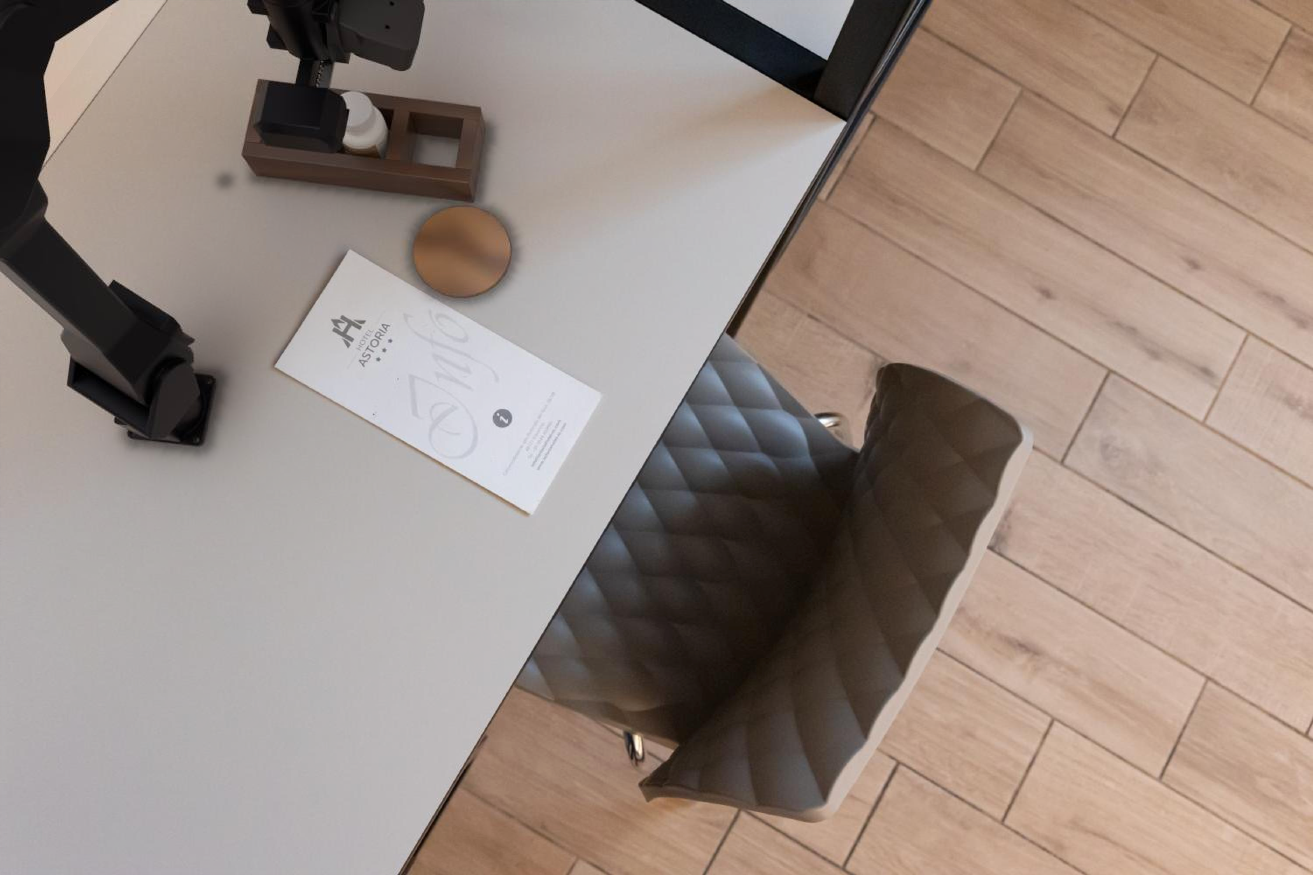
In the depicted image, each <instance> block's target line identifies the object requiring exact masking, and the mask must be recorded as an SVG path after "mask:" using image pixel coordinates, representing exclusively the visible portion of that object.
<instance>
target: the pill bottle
mask: <svg viewBox="0 0 1313 875" xmlns="http://www.w3.org/2000/svg"><path fill="white" fill-rule="evenodd" d="M356 91H357V90H351V91H350V92H346V93H343V94H342V95H341V96H343V98H344V100H345V102H346V105H347V109H350V111H349V116H348V122H347V127H346V132H345V136H344V138H343V143H342V145H343V147H344V149H345V154H349V155H357V156H365V157H373V158H381V159H385V158H386V152H387V147H388V142H389V136H390V130H388V128H387V125H386V123H385V120H384V118H383V116H382V114H381V113H380V111H379V110H378V109H377V108H376V107H374V106H373V105H372V103H371V101H370V99H369V98H368V97H367V96H366V95H364V94H363V93H360V92H361V91H359V92H356Z"/></svg>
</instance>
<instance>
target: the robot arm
mask: <svg viewBox="0 0 1313 875" xmlns="http://www.w3.org/2000/svg"><path fill="white" fill-rule="evenodd" d="M119 1H120V0H0V273H1V274H3V275H4V276H5V277H6V278H7V279H8V280H9V281H10V282H11V283H13V284H14V285H15V286H16V287H17V288H18V289H20V290H21V291H22V292H23V293H24V294H25V295H26V296H27V297H29V298H30V299H31V300H32V301H33V302H34V303H35V304H36V305H37V306H38V307H40V308H41V309H42V310H43V311H44V312H45V313H47V315H49V316H50V318H52V319H53V320H54V321H55V322H57V323H58V324H59V325H60V326H61V327H62V331H61V334H60V336H59V337H60V341H61V343H62V344H63V345H64V347H65V349H66V350H67V351H68V353H69V363H68V372H67V378H66V379H67V380H66V386H67V387H68V388H69V389H71V390H73V391H74V392H75V393H78V394H79V395H80V396H82V397H84V398H85V399H87V400H88V401H90V402H91V403H93V404H94V405H96V406H98V407H99V408H101V409H102V410H104V411H105V412H107V413H108V414H110V415H111V416H113V417H114V419H113V423H114V424H116V425H117V426H119V427H122V428H124V429H126V430H127V432H126V435H127V437H128V438H129V439H131V440H135V441H142V442H143V441H144V442H153V443H160V444H169V445H178V446H187V447H195V448H199V447H201V446H203V445H204V443H205V437H206V434H207V433H206V432H207V428H208V424H209V421H210V420H209V419H210V414H211V410H212V407H213V406H212V404H213V400H214V395H215V391H216V387H217V378H216V377H215V376H213V375H211V374H205V373H195V368H194V367H193V365H192V364H194V363H195V353H194V350H193V349H192V348H191V347H190V346H191V345H192V344H194V343H195V342H196V339H195V338H194V337H192V336H191V335H189V334H187V333H186V332H184V331H183V329H182V326H181V325H180V323H179V322H178V320H176V318H175V317H174V316H172V315H170V313H168V312H166V311H164V310H162V308H159V307H158V306H156V305H154V304H153V303H152V302H150V301H149V300H147V299H145V298H144V297H142V296H141V295H139V294H138V293H137V292H134V291H133V290H132V289H129V288H128V287H126V286H125V285H123V284H121V283H120V282H118V281H117V280H115V279H112V281H111V282H110V283H109V285H108V284H106V282H105V281H104V279H102V278H101V277H100V276H99V275H98V273H96V271H95V270H94V269H93V268H92V267H91V266H90V265H89V264H88V263H87V262H86V261H85V259H83V258H82V257H81V255H79V253H78V251H76V250H75V249H74V248H73V247H72V246H71V245H70V244H69V243H68V242H67V241H66V240H65V238H64V237H63V236H62V235H61V234H60V233H59V231H57V230H56V229H55V227H54V226H53V225H52V224H51V223H50V222H49V221H48V220H47V218H46V216H45V215H46V213H47V209H48V206H49V197H48V195H47V193H46V191H45V189H44V188H43V186H42V183H41V181H40V179H39V178H40V176H41V173H42V169H43V166H44V164H45V161H46V158H47V155H48V153H49V151H50V147H51V139H52V138H51V132H50V130H51V129H50V122H49V121H50V120H49V112H48V104H47V96H46V95H47V94H46V87H45V86H46V85H45V75H46V72H47V69H48V66H49V63H50V61H51V58H52V55H53V51H54V50H55V47H56V42H58V41H60V40H61V39H63V38H65V37H66V36H67V35H69V34H71V33H72V32H74V31H75V30H76V29H78V28H79V27H81V26H83V25H84V24H86V23H87V22H89V21H91V19H93V18H95V17H97V15H99V14H101V13H102V12H104V11H105V10H107V9H108V8H110V7H112V6H113V5H114V4H116V3H118V2H119ZM424 1H425V0H247V3H246V6H247V7H248V10H249V11H250V13H251V14H252V15H260V16H266V18H267V20H268V21H269V25H268V29H267V34H266V38H265V41H266V43H267V45H268V47H269V49H271V50H281V51H288V54H290V55H291V56H293V57H295V58H297V59H299V63H298V68H297V72H296V76H295V81H294V83H295V84H290V83H291V82H288V83H282V82H283V81H280V82H274V81H275V80H272V81H268V82H267V83H265V84H264V85H262V86H261V88H260V93H259V97H258V102H257V106H256V111H255V115H254V120H253V124H252V126H253V128H254V129H255V131H256V133H257V134H258V136H259V137H260V139H261V140H262V141H263V142H264V144H265V145H266V146H271V147H279V148H287V149H295V150H303V151H311V152H319V153H327V154H334V153H335V152H337V151H338V150H340V149H341V148H342V143H343V138H344V136H345V132H346V127H347V122H348V116H349V111H350V109H347V105H346V102H345V100H344V98H343V96H341V95H339V94H337V93H335V92H334V91H332V90H330V88H331V85H332V81H333V80H332V79H333V76H334V71H335V65H336V63H337V64H346V65H349V64H350V59H351V54H353V55H354V56H356V57H358V58H360V59H364V60H367V61H370V62H372V63H376V64H379V65H383V66H385V67H389V68H390V69H391V70H393V71H397V72H407V71H408V70H410V69H411V68H412V65H413V62H414V59H415V56H416V53H417V50H418V47H419V44H420V39H421V34H422V28H423V23H424V17H425V11H426V5H425V3H424ZM210 380H211V382H209V381H210ZM133 433H134V435H133ZM197 440H198V442H196V441H197Z"/></svg>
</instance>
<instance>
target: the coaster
mask: <svg viewBox="0 0 1313 875" xmlns="http://www.w3.org/2000/svg"><path fill="white" fill-rule="evenodd" d="M511 247H512V246H511V242H510V238H509V235H508V233H507V231H506V229H505V228H504V225H502V223H501V222H500V221H499V220H498V219H497V218H496V217H495V216H493V215H492V214H491V213H489V212H487V211H485V210H483V209H480V208H477V207H472V206H464V205H463V206H452V207H449V208H445V209H443V210H441V211H439V212H437V213H435V214H433V215H431V217H430V218H428V219H427V220H426V221H425V222H424V223H423V225H422V226H421V227H420V228H419V230H418V232H417V234H416V237H415V240H414V243H413V250H412V251H413V261H414V264H415V265H414V266H415V267H416V270H417V272H418V274H419V276H420V278H421V279H422V280H423V282H425V284H427V285H428V286H429V287H430V288H431V289H433V290H434V291H435V292H438V293H440V294H442V295H445V296H448V297H453V298H470V297H475V296H478V295H481V294H483V293H486V292H488V291H489V290H491V289H492V288H494V287H495V286H496V285H497V284H499V282H500V281H501V280H502V279H503V277H504V276H505V274H506V272H507V270H508V268H509V266H510V262H511V257H512V249H511Z"/></svg>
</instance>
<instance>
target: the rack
mask: <svg viewBox="0 0 1313 875" xmlns="http://www.w3.org/2000/svg"><path fill="white" fill-rule="evenodd" d="M268 81H274V82H282V83H290V84H295V82H288V81H280V80H272V79H271V80H270V79H264V78H258V79H257V82H256V87H255V92H254V96H253V99H252V105H251V109H250V112H249V118H248V122H247V127H246V132H245V135H244V139H243V140H244V142H243V144H242V150H241V155H240V156H242V158H243V159H244V161H245V162H246V164H247V165H248V167H250V170H252V172H253V173H254V175H255V176H256V177H263V178H264V177H265V178H270V179H271V178H272V179H280V180H288V181H296V182H304V183H312V184H319V185H328V186H336V187H344V188H354V189H360V190H370V191H375V192H376V191H377V192H384V193H392V194H402V195H409V196H417V197H425V198H433V199H440V200H441V199H443V200H449V201H458V202H464V203H474V202H475V198H476V189H477V185H478V181H479V180H478V179H479V174H480V167H481V160H482V156H483V155H482V154H483V148H484V141H485V137H486V136H485V135H486V130H487V129H486V125H485V124H486V123H485V120H484V115H483V110H482V107H481V106H476V105H468V104H463V103H453V102H444V101H438V100H437V101H436V100H429V99H422V98H414V97H406V96H399V95H390V94H382V93H375V92H367V91H357V90H355V91H356V92H360V93H363V94H364V95H366V96H367V97H368V98H369V99H370V101H371V103H372V105H373V106H374V107H376V108H377V109H378V110H379V111H380V113H381V114H382V116H383V118H384V120H385V123H386V125H387V128H388V130H389V133H390V136H389V142H388V147H387V152H386V158H385V159H381V158H373V157H365V156H357V155H349V154H347V153H346V151H345V149H344V147H343V145H342V148H341V149H340V150H338V151H337V152H335V153H334V154H327V153H319V152H311V151H303V150H295V149H287V148H279V147H271V146H266V145H265V144H264V142H263V141H262V140H261V139H260V137H259V136H258V134H257V133H256V131H255V129H254V128H253V126H252V124H253V120H254V115H255V111H256V106H257V102H258V97H259V93H260V88H261V86H262V85H264V84H265V83H267V82H268ZM330 90H332V91H334V92H335V93H337V94H339V95H342V94H343V93H346V92H350V91H352V89H351V90H350V89H343V88H335V87H330ZM418 135H423V136H433V137H439V138H440V137H441V138H447V139H456V140H459V145H458V150H457V156H456V162H455V167H452V166H444V165H437V164H436V165H435V164H428V163H421V162H413V161H414V154H415V150H416V149H415V148H416V143H417V137H418Z"/></svg>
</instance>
